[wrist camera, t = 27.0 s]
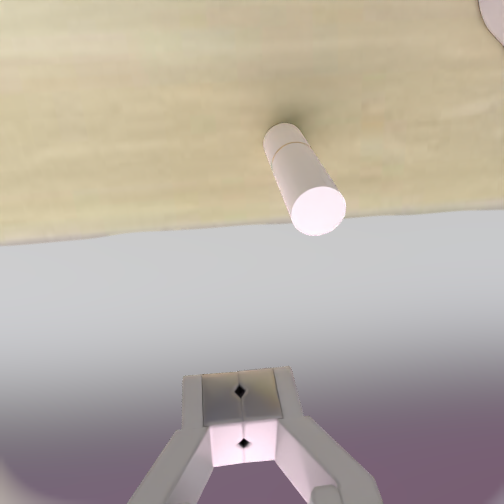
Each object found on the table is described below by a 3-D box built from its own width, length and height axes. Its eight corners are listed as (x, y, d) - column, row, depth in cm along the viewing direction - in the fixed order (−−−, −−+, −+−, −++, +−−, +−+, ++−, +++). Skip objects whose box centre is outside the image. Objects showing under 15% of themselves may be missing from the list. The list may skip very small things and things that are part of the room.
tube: (268, 119, 43) (299, 182, 31) (308, 126, 44) (353, 190, 32) (259, 159, 46) (285, 232, 33) (297, 165, 47) (336, 238, 34)
